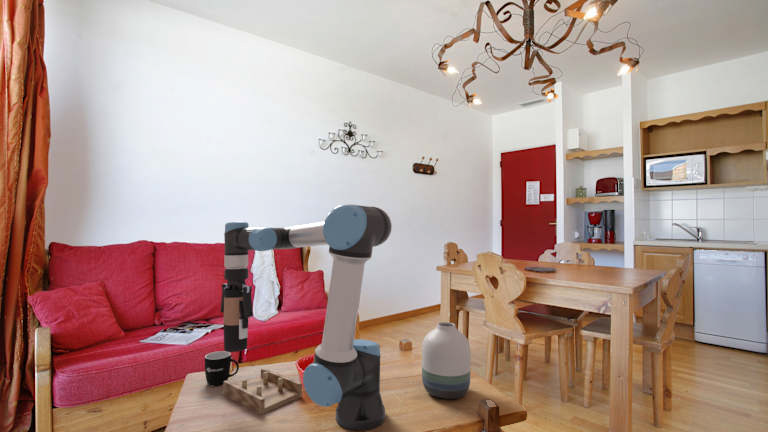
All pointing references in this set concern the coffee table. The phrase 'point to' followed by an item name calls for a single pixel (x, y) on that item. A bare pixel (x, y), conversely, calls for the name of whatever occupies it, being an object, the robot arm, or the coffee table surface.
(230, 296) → the travel mug
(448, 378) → the vase
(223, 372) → the mug
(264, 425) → the coffee table surface
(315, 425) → the coffee table surface
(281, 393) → the peg stand
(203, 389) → the coffee table surface
